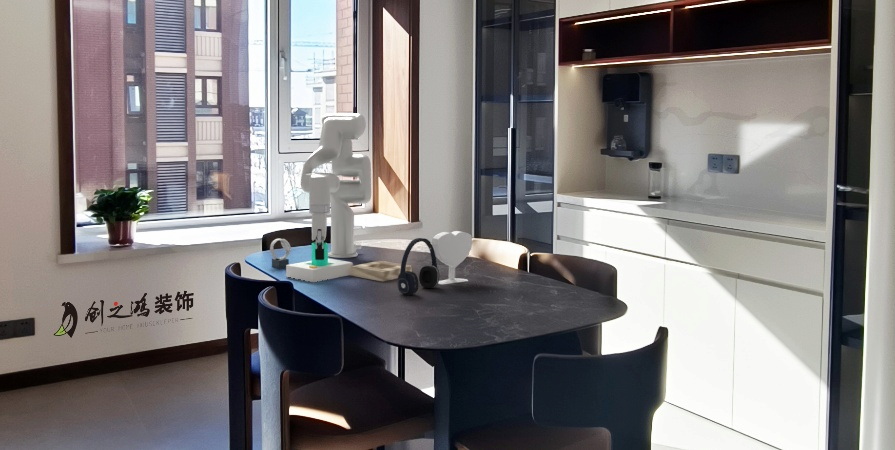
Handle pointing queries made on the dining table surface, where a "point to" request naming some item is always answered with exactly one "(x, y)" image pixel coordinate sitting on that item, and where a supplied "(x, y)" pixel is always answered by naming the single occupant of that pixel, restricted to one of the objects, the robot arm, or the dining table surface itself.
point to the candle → (325, 261)
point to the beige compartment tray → (378, 270)
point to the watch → (281, 261)
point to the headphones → (427, 273)
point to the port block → (318, 270)
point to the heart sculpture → (452, 251)
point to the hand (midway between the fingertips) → (319, 257)
